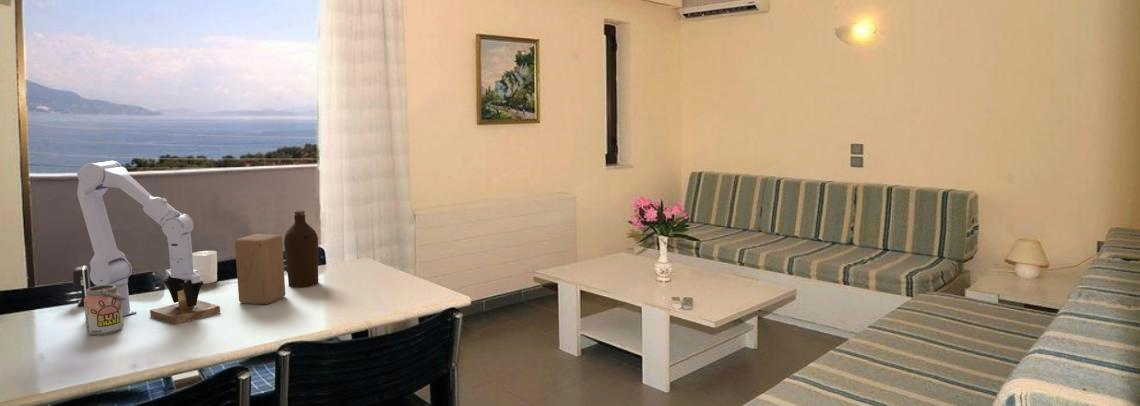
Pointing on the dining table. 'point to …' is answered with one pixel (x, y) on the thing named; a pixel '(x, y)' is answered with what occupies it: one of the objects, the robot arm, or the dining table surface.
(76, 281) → the battery charger
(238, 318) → the dining table surface
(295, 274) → the olive oil
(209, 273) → the white cup
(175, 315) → the board
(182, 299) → the peg
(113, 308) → the beverage can
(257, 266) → the wooden block
